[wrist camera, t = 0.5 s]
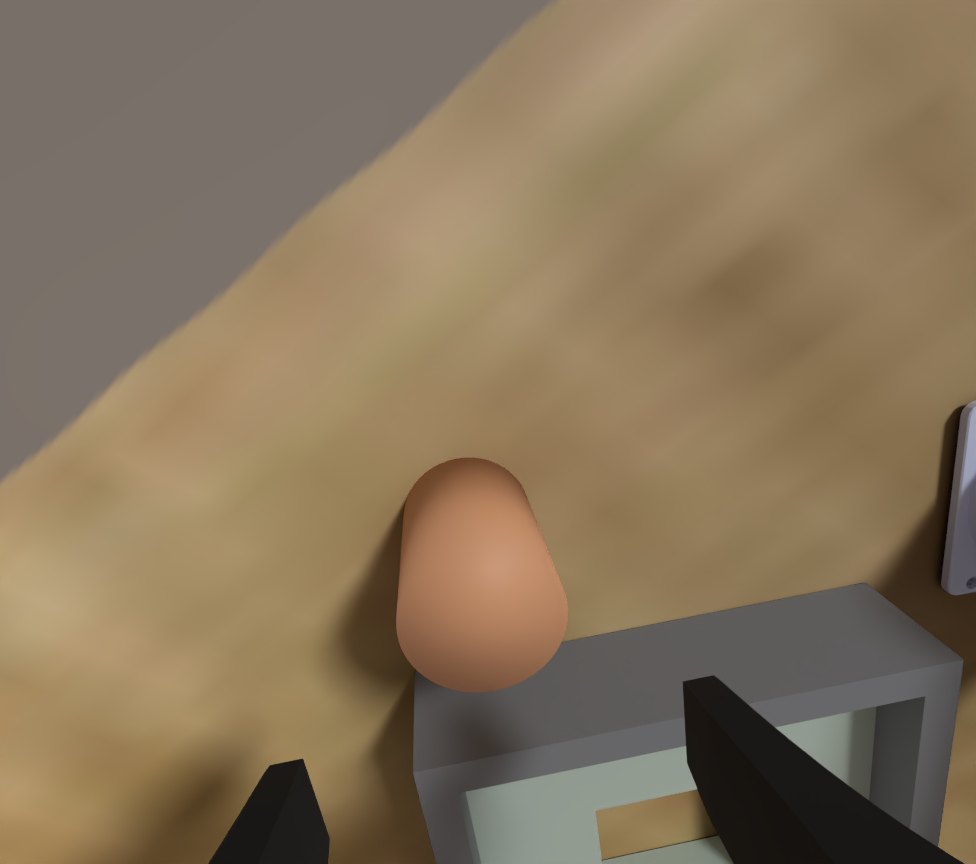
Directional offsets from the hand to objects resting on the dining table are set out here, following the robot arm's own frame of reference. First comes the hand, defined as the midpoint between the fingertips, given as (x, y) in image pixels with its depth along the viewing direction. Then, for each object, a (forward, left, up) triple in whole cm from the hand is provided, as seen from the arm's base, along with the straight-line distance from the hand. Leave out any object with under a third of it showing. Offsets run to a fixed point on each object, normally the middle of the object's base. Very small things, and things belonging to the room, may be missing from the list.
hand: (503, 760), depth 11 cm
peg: (0, 0, -10) cm, 10 cm away
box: (-6, +15, -10) cm, 19 cm away
